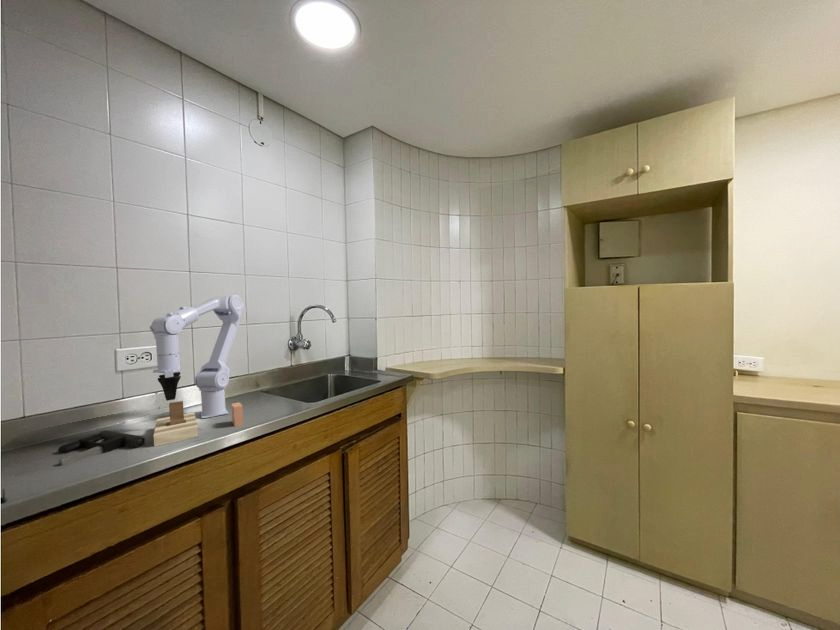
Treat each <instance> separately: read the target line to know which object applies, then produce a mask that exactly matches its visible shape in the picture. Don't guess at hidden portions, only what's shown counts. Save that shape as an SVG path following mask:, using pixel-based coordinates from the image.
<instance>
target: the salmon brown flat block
mask: <svg viewBox="0 0 840 630" xmlns="http://www.w3.org/2000/svg"><path fill="white" fill-rule="evenodd" d="M243 407H244V406H243V405H242V403H241V402H234V403H233V402H232V403H231V422H232V424H233V426H234V427H238V426H243V425H244V411H243V410H244V409H243Z"/></svg>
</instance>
